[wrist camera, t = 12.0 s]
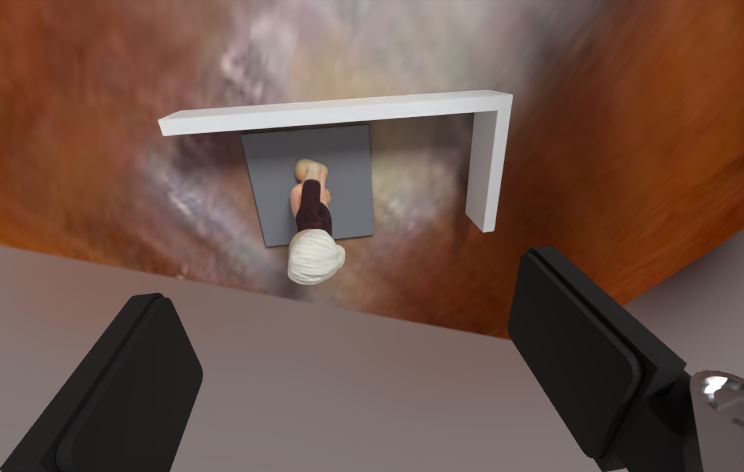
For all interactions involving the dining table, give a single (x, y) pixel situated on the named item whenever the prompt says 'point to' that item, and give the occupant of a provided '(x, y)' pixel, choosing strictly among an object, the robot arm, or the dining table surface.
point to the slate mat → (277, 179)
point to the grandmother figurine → (312, 227)
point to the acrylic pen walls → (485, 103)
